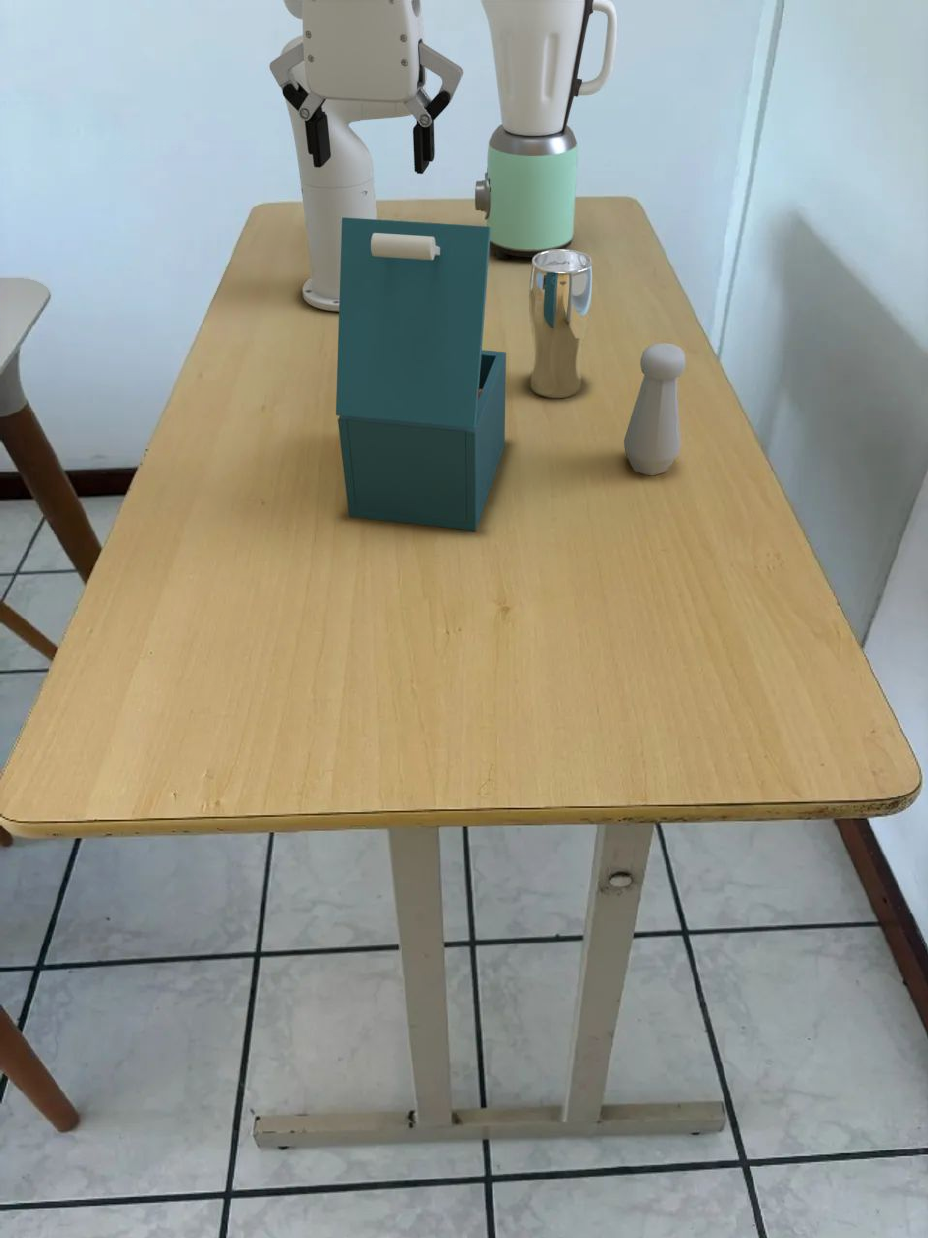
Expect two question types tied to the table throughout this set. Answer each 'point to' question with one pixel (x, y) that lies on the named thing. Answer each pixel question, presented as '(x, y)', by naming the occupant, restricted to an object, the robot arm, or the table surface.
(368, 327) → the lid
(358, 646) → the table surface
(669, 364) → the salt shaker
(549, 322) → the beer glass
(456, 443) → the cool box
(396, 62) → the robot arm
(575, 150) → the mint green blender
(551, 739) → the table surface
